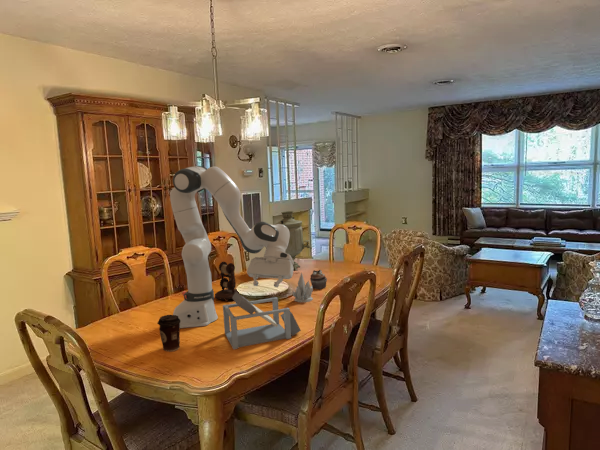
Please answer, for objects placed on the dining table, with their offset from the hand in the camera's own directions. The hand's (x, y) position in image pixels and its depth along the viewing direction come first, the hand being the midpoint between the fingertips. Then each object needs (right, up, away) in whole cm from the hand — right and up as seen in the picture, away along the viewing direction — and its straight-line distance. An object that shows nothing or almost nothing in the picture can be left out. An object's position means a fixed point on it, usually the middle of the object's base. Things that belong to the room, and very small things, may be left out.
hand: (265, 286), depth 173 cm
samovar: (+10, -5, +116) cm, 116 cm away
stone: (+9, -12, 0) cm, 15 cm away
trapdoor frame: (-4, -21, +2) cm, 21 cm away
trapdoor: (-5, -11, 0) cm, 13 cm away
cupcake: (+25, -11, +70) cm, 75 cm away
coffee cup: (-37, -24, -8) cm, 45 cm away
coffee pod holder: (-25, -15, +56) cm, 63 cm away
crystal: (+17, -14, +48) cm, 53 cm away
